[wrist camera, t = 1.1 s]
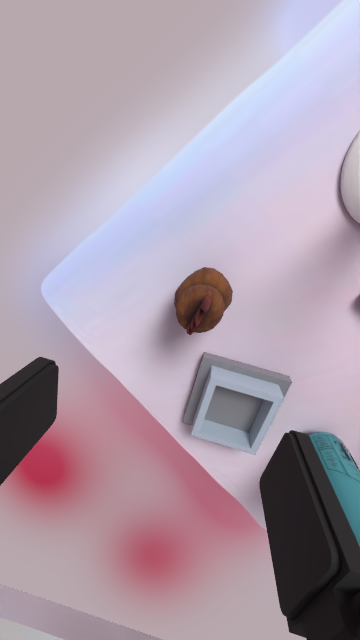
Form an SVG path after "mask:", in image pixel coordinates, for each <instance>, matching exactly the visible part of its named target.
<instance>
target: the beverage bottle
mask: <svg viewBox="0 0 360 640" xmlns="http://www.w3.org/2000/svg"><path fill="white" fill-rule="evenodd" d="M308 436H309V437H310V438H311V441H312V443H313V445H314V447H315V449H316V452H317V454H318V456H319V458H320V460H321V463H322V465H323V467H324V469H325V471H326V473H327V476H328V478H329V480H330V482H331V484H332V487H333V489H334V491H335V493H336V495H337V498H338V500H339V502H340V504H341V506H342V509H343V511H344V513H345V515H346V517H347V520H348V522H349V524H350V526H351V528H352V530H353V533H354V535H355V537H356V539H357V541H358V544H359V546H360V471H359V469H358V467H357V465H356V462H355V461H354V460H352V459H353V457H352V456H350V455H351V454H350V452H349V453H348V451H347V450H348V449H346V448H345V446H344V445H343V443H342V442H341V440H340V439H339V438H337V437H336V436H335V435H333V434H330V433H326V432H317V433H313V434H310V435H308ZM349 454H350V455H349ZM351 457H352V458H351Z"/></svg>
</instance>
